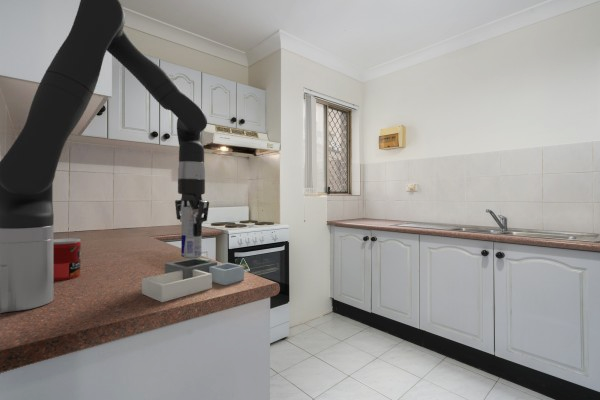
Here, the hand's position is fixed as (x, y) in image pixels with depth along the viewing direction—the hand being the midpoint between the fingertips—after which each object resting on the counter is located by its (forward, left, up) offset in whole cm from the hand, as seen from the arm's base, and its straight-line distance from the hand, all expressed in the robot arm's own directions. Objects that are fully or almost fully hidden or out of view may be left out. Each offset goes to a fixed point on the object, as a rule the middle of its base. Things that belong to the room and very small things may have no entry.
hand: (191, 235), depth 89 cm
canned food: (-23, +29, -13) cm, 39 cm away
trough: (-9, -8, -13) cm, 17 cm away
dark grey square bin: (0, 0, -13) cm, 13 cm away
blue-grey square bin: (+5, -10, -13) cm, 17 cm away
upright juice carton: (0, 0, -7) cm, 7 cm away
